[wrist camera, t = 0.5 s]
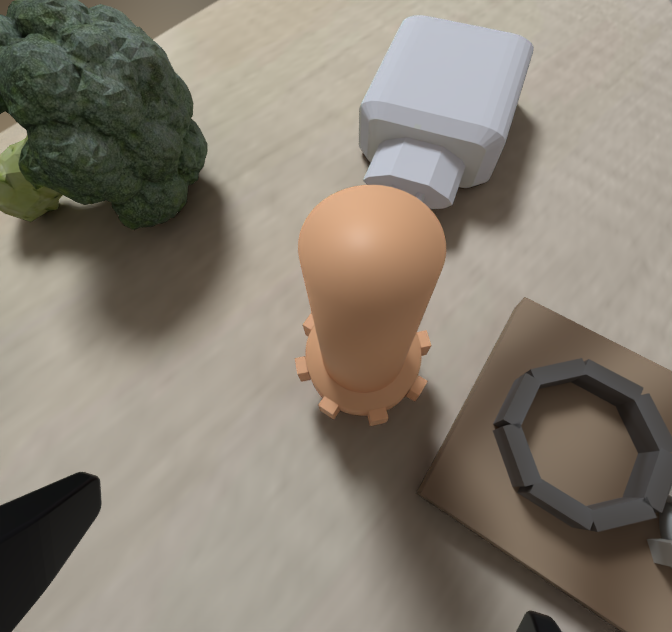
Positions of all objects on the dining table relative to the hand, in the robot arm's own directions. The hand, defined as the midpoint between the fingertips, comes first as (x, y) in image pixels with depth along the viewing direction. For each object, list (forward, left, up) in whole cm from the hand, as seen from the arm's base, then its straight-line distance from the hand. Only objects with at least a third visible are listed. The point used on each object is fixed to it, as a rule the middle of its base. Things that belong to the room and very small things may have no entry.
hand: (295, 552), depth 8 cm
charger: (+21, -11, -13) cm, 27 cm away
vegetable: (+23, +10, -13) cm, 28 cm away
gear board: (-2, -15, -13) cm, 20 cm away
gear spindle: (+7, -3, -13) cm, 15 cm away
